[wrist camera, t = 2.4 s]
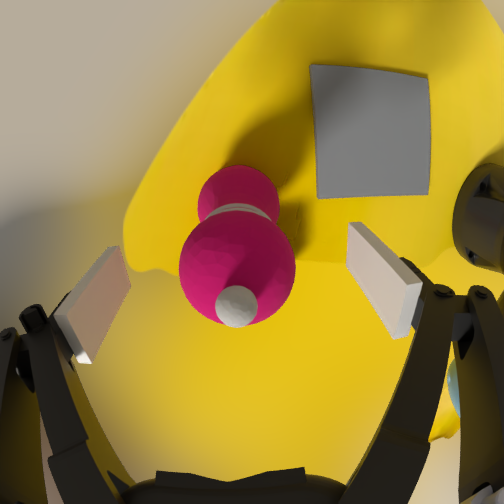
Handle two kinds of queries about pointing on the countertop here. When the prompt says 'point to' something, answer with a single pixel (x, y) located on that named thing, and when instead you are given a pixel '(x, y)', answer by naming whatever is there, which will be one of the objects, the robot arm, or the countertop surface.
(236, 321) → the pepper mill
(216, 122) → the countertop surface
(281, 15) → the countertop surface
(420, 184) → the grey mat
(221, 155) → the countertop surface
